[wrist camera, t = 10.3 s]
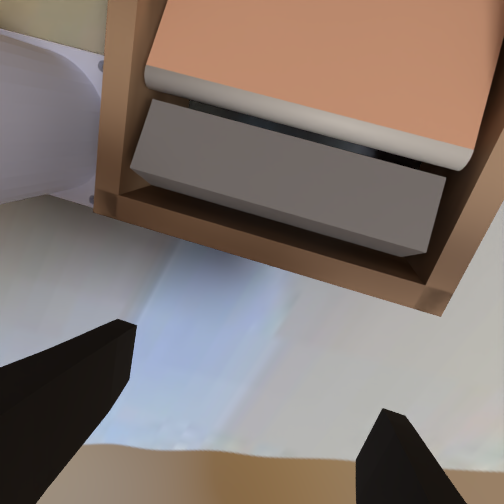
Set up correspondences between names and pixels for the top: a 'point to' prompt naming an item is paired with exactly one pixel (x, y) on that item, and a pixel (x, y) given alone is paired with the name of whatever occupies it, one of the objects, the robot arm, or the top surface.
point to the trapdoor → (321, 108)
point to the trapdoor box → (273, 232)
